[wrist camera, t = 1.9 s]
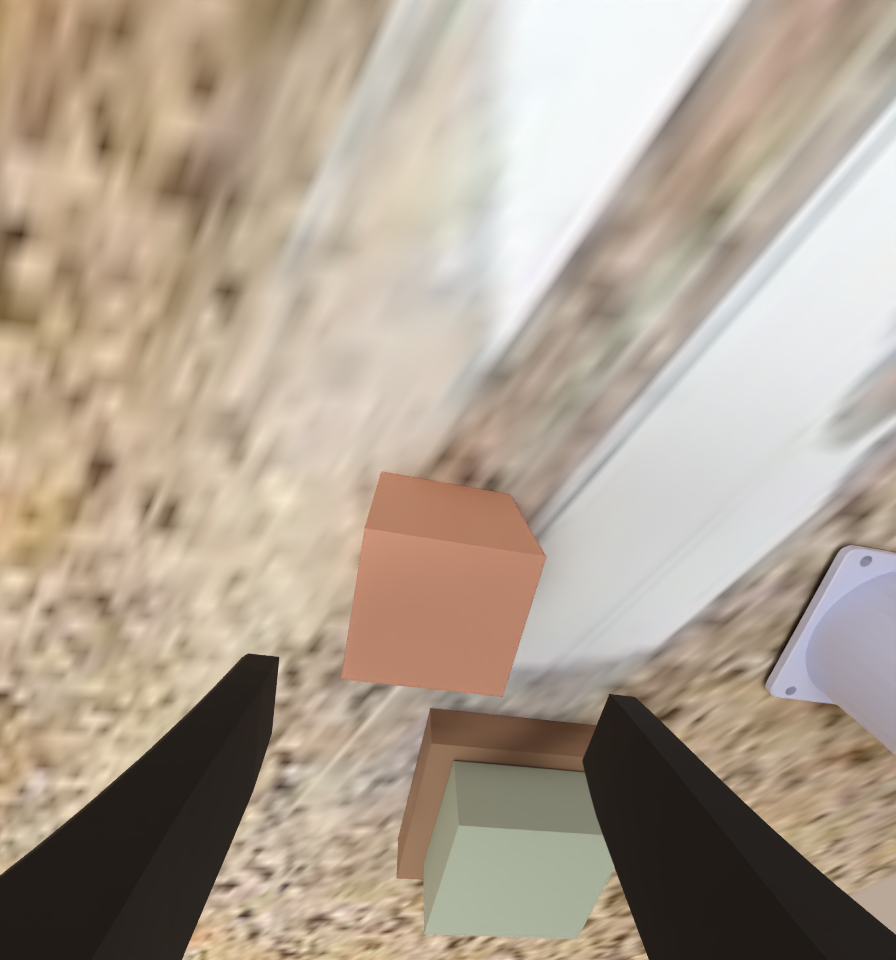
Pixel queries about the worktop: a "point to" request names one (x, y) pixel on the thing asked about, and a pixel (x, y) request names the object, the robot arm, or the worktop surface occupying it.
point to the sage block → (514, 854)
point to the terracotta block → (441, 587)
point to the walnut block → (477, 743)
